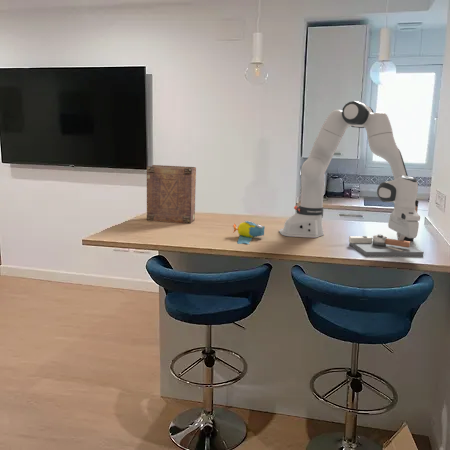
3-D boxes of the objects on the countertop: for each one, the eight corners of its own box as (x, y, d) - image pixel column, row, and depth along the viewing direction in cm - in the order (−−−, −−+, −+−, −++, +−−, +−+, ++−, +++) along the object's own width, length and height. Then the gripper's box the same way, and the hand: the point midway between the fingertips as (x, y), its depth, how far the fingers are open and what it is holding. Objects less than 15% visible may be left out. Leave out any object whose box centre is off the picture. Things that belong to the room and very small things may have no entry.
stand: (363, 256, 205) (364, 245, 204) (347, 244, 224) (348, 234, 223) (423, 256, 208) (424, 246, 207) (401, 244, 227) (402, 235, 226)
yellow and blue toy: (236, 214, 245) (266, 217, 244) (235, 231, 247) (264, 233, 246) (230, 226, 218) (263, 228, 217) (229, 244, 220) (262, 247, 218)
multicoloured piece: (371, 244, 216) (372, 235, 215) (374, 242, 221) (374, 233, 221) (408, 250, 209) (409, 240, 208) (410, 247, 214) (411, 238, 213)
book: (146, 220, 264) (146, 166, 257) (151, 217, 272) (151, 164, 266) (190, 223, 259) (191, 168, 253) (194, 220, 268) (195, 167, 262)
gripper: (386, 208, 221) (383, 236, 224) (408, 217, 201) (404, 249, 205) (399, 208, 222) (395, 236, 225) (422, 217, 202) (418, 249, 205)
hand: (400, 242), depth 215 cm, fingers closed
